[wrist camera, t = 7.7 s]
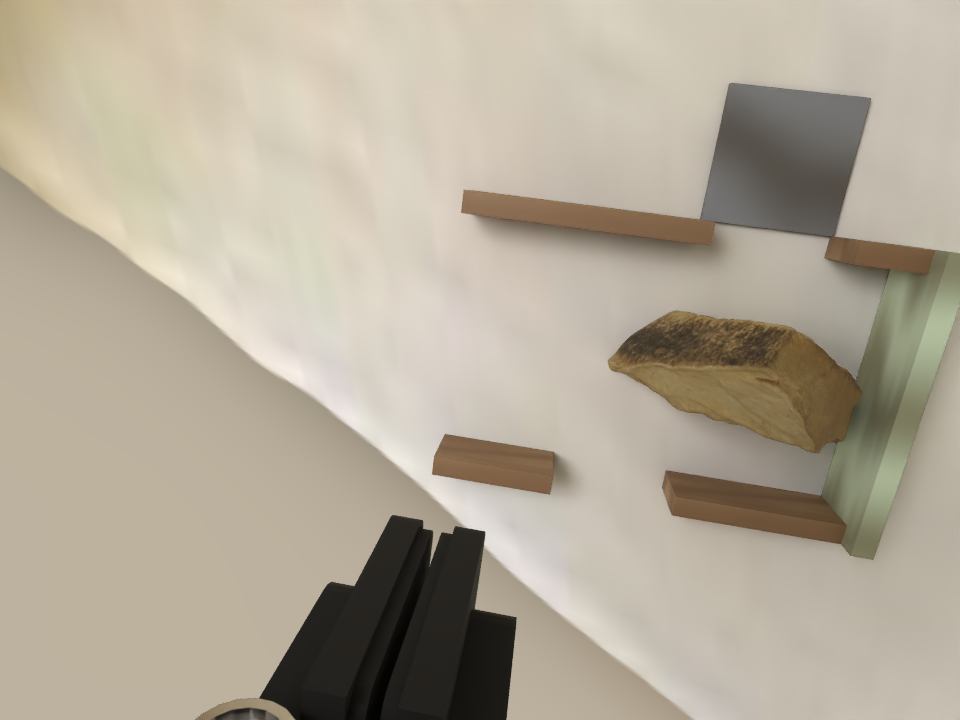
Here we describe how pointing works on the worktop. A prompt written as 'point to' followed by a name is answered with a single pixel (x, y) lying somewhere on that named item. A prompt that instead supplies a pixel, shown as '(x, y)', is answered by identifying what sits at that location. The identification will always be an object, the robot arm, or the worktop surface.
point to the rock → (744, 376)
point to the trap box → (815, 210)
